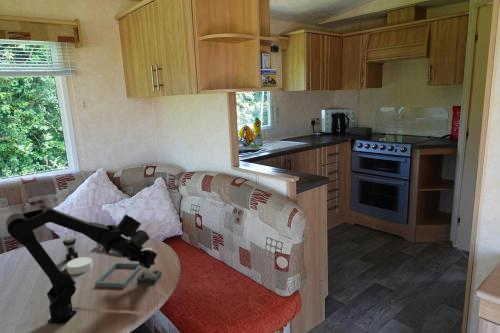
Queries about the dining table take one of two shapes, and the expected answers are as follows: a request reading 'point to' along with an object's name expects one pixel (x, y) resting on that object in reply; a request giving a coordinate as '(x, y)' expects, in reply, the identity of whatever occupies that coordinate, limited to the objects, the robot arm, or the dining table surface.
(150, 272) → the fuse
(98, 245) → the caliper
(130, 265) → the parts tray
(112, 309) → the dining table surface
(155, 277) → the grey piece
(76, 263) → the white round disc
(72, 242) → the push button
